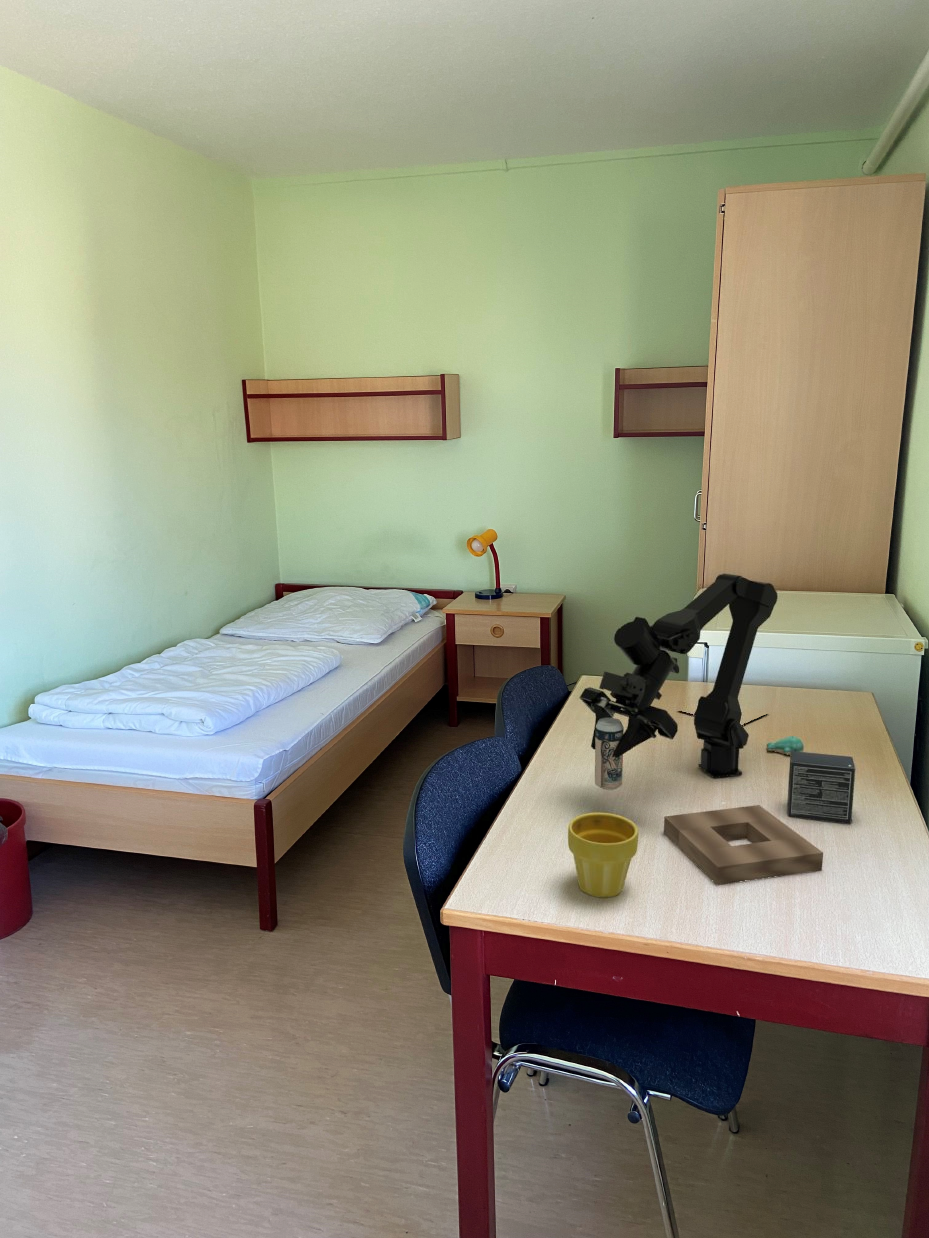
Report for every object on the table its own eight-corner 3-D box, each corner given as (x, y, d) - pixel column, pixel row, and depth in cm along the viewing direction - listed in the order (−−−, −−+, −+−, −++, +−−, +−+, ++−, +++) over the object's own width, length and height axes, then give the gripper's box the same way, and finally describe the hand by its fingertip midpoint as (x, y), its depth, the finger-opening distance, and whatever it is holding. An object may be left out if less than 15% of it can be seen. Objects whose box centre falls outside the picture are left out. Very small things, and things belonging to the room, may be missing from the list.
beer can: (605, 793, 150) (606, 727, 147) (589, 783, 154) (590, 719, 151) (627, 787, 152) (629, 722, 149) (611, 778, 156) (612, 715, 153)
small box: (848, 809, 156) (853, 755, 154) (852, 825, 150) (857, 768, 148) (786, 802, 159) (790, 748, 157) (787, 817, 153) (791, 761, 151)
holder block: (758, 820, 152) (759, 804, 151) (821, 870, 135) (823, 852, 134) (663, 832, 148) (664, 816, 147) (717, 885, 131) (718, 866, 130)
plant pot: (644, 903, 126) (647, 841, 124) (574, 906, 125) (575, 844, 123) (626, 868, 136) (628, 810, 134) (561, 871, 136) (562, 813, 133)
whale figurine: (804, 759, 180) (805, 742, 179) (766, 756, 182) (768, 739, 181) (801, 750, 185) (803, 733, 184) (765, 746, 187) (766, 730, 187)
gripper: (587, 644, 157) (542, 715, 153) (669, 665, 143) (623, 744, 139) (615, 677, 164) (574, 746, 159) (697, 700, 149) (653, 777, 145)
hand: (603, 752), depth 151 cm, fingers closed on beer can, 5 cm apart
